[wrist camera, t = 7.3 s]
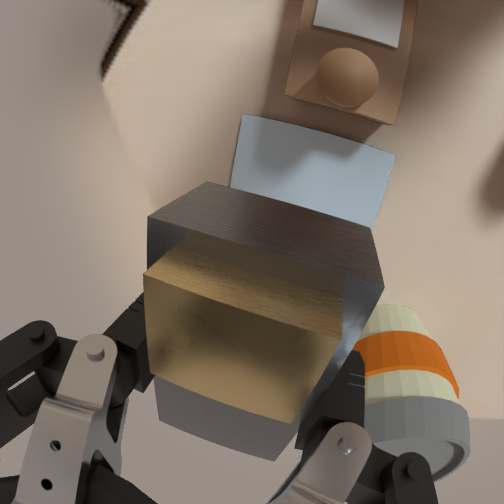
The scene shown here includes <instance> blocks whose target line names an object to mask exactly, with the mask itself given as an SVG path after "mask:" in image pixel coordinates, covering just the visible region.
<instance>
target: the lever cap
mask: <svg viewBox="0 0 504 504" xmlns="http://www.w3.org/2000/svg"><path fill="white" fill-rule="evenodd" d="M147 223H148V224H147V271H146V272H145V273H143V285H144V307H145V323H146V336H147V347H148V357H149V367H150V373H152V374H154V375H155V376H154V385H155V392H156V400H157V408H158V415H159V420H160V421H162V422H164V423H166V424H169V425H171V426H173V427H176V428H178V429H180V430H182V431H185V432H187V433H190V434H192V435H195V436H197V437H200V438H203V439H205V440H208V441H211V442H213V443H216V444H219V445H221V446H225V447H227V448H230V449H234V450H236V451H240V452H243V453H246V454H249V455H253V456H256V457H260V458H263V459H267V460H271V461H275V460H276V459H277V457H278V456H279V455H280V454H281V452H282V451H283V450H284V449H285V447H286V446H287V445H288V444H289V442H290V441H291V440H292V438H293V437H294V436H295V434H296V433H297V432H298V430H299V427H300V425H301V424H302V423H303V421H304V420H305V418H306V417H307V416H308V414H309V413H310V411H311V410H312V408H313V407H314V405H315V404H316V402H317V401H318V399H319V398H320V396H321V395H322V393H323V392H324V390H325V391H326V390H327V389H328V387H329V386H330V384H331V383H332V381H333V380H334V378H335V376H336V375H337V373H338V372H339V370H340V368H341V367H342V365H343V363H344V362H345V360H346V358H347V357H348V355H349V353H350V352H351V350H352V348H353V347H354V345H355V343H356V341H357V339H358V338H359V336H360V334H361V332H362V331H363V329H364V327H365V325H366V323H367V321H368V319H369V318H370V316H371V314H372V312H373V310H374V308H375V306H376V304H377V302H378V300H379V298H380V296H381V294H382V292H383V290H384V288H385V286H384V282H383V277H382V273H381V268H380V264H379V260H378V256H377V252H376V248H375V244H374V240H373V236H372V232H371V229H370V227H367V226H364V225H361V224H357V223H354V222H351V221H348V220H345V219H342V218H338V217H335V216H332V215H329V214H325V213H322V212H318V211H315V210H312V209H308V208H305V207H301V206H298V205H294V204H291V203H287V202H284V201H280V200H276V199H273V198H269V197H265V196H262V195H258V194H254V193H250V192H246V191H243V190H239V189H235V188H231V187H227V186H223V185H218V184H214V183H210V182H206V183H204V184H202V185H201V186H199V187H197V188H195V189H193V190H192V191H190V192H188V193H186V194H185V195H183V196H181V197H179V198H178V199H176V200H174V201H173V202H171V203H169V204H167V205H166V206H164V207H162V208H161V209H159V210H157V211H156V212H154V213H152V214H151V215H149V216H148V221H147Z"/></svg>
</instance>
